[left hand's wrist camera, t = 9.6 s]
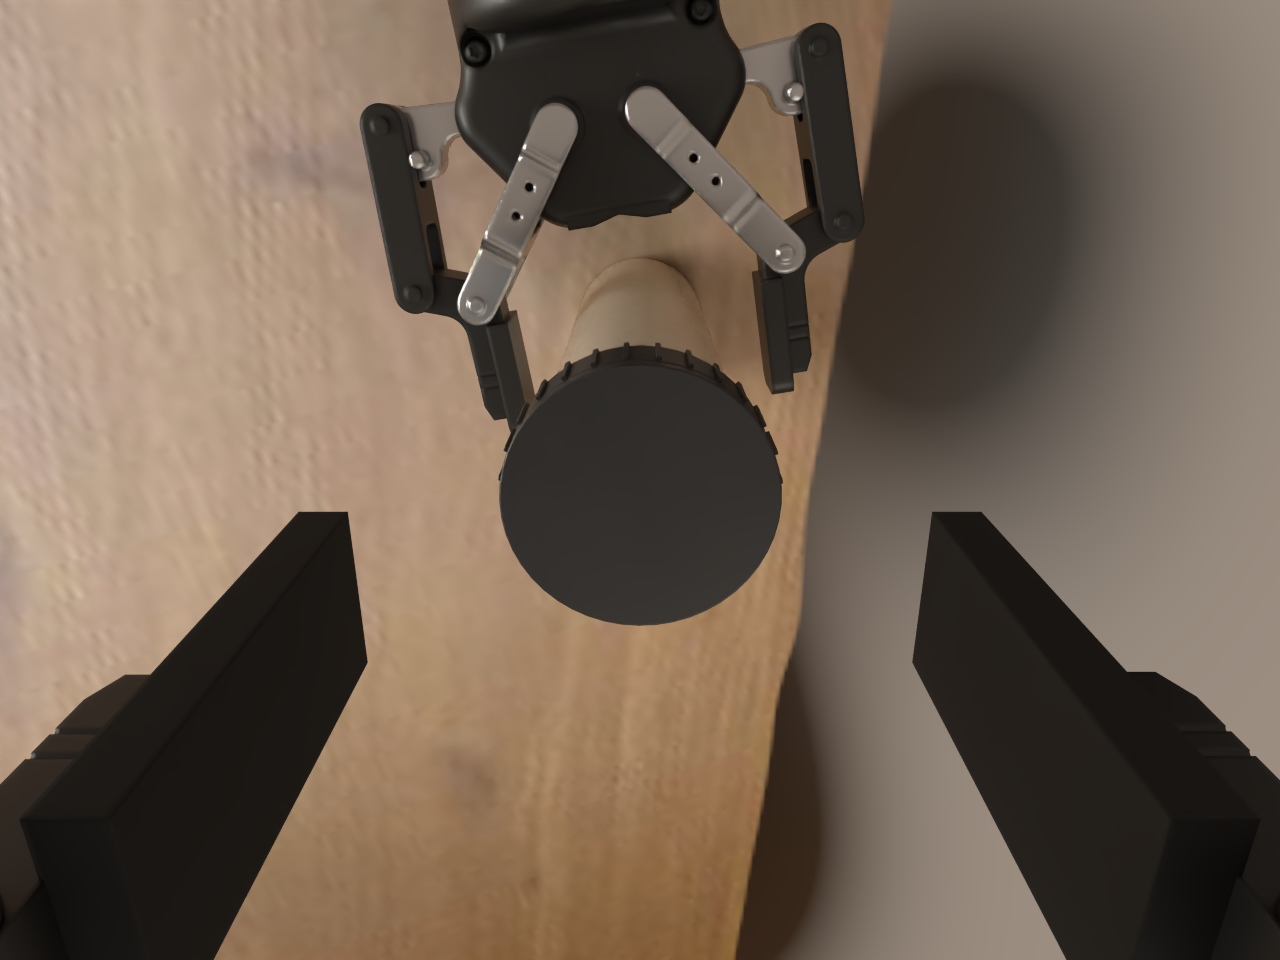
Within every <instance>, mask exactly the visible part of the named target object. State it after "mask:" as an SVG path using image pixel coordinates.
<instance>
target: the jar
mask: <svg viewBox="0 0 1280 960" xmlns="http://www.w3.org/2000/svg"><path fill="white" fill-rule="evenodd" d="M624 342H629V346H637V345H646V346H655V343H656V342H657V343H661V347H664V348H669V349H674V350H678V351H681V352H684V353H685V351H686V349H687V350H690V351H691V353H692V355H693V356H695V357H697V358H699V359H701V360H703V361H705V362H707V363H709V364H711V365H713V364H714V363H716V364H718V365H719V368H720V371H721V372H722V373H724V372H723V369H722V367H721V364H720V361H719V358H718V355H717V353H716V350H715V347H714V344H713V341H712V338H711V336H710V333H709V330H708V327H707V324H706V322H705V319H704V316H703V313H702V310H701V307H700V305H699V302H698V299H697V296H696V294H695V292H694V290H693V288H692V287H691V285H690V283H689V282H688V281H687V280H686V279H685V277H684V276H683V275H681V274H680V273H679V272H678V271H677V270H675V269H674V268H673V267H671V266H669V265H667V264H665V263H663V262H660V261H657V260H653V259H646V258H634V259H628V260H624V261H621V262H618V263H616V264H613V265H611V266H610V267H608V268H607V269H605V270H604V271H602V272H601V273H600V274H599V275H598V276H597V277H596V278H595V279H594V280H593V282H592V283H591V284H590V286H589V287H588V289H587V291H586V293H585V295H584V298H583V301H582V303H581V306H580V309H579V312H578V315H577V318H576V321H575V323H574V326H573V329H572V332H571V335H570V338H569V340H568V343H567V346H566V349H565V352H564V355H563V357H562V360H561V363H560V366H559V369H558V372H560V371H561V370H563V369H564V366H565V363H566V362H568V361H570V362H571V364H572V363H574V362H576V361H578V360H580V359H582V358H584V357H586V356H588V355H591V354H592V353H593V350H594V349H597V348H598V349H599V352H600V351H603V350H606V349H612V348H617V347H622V346H624ZM558 372H557V373H558Z"/></svg>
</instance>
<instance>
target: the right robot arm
mask: <svg viewBox="0 0 1280 960" xmlns="http://www.w3.org/2000/svg"><path fill="white" fill-rule="evenodd" d="M448 4H449V9H450V13H451V18H452V23H453V27H454V32H455V36H456V41H457V46H458V50H459V55H460V62H461V79H460V86H459V91H458V94H457V98H456V102H448V103H440V104H431V105H422V106H414V107H404V106H398V105H390V104H383V103H375V104H372V105H370V106H368V107H367V108H366V109H365V110H364V111H363V113H362V115H361V118H360V130H361V134H362V139H363V144H364V149H365V154H366V159H367V164H368V169H369V173H370V178H371V183H372V188H373V193H374V198H375V203H376V208H377V212H378V217H379V222H380V227H381V232H382V237H383V242H384V247H385V251H386V256H387V261H388V266H389V271H390V276H391V281H392V286H393V290H394V295H395V299H396V301H397V303H398V305H399V306H400V307H401V308H402V309H403V310H405V311H407V312H409V313H412V314H419V313H423V312H427V313H432V314H438V315H443V316H448V317H451V318H453V319H455V320H457V321H458V322H459V323H460V324H461V325H462V326H463V327H464V329H465V330H466V332H467V335H468V339H469V343H470V347H471V351H472V355H473V360H474V364H475V368H476V372H477V376H478V380H479V384H480V388H481V393H482V397H483V401H484V405H485V408H486V409H487V411H488V412H489V413H490V415H491V416H492V418H493V419H494V420H499V419H505V418H507V421H508V425H509V429H510V432H512V429H513V428H514V429H517V427H518V425H519V424H517V423H516V422H517V420H518V417H519V415H520V413H521V410H522V408H523V406H524V404H525V402H527V403H528V404H530V402H531V401H532V399H533V398H534V396H535V393H534V388H533V384H532V379H531V375H530V370H529V366H528V361H527V356H526V352H525V347H524V343H523V338H522V333H521V329H520V324H519V320H518V315H517V310H515V311H509V309H508V304H507V297H508V295H509V293H510V291H511V289H512V287H513V285H514V282H515V280H516V278H517V276H518V274H519V272H520V270H521V267H522V265H523V263H524V261H525V259H526V257H527V255H528V253H529V251H530V249H531V248H532V246H533V244H534V242H535V240H536V237H537V235H538V233H539V231H540V229H541V227H542V225H543V222H544V220H546V221H548V222H550V223H552V224H555V225H557V226H561V227H567V228H568V229H569V230H575V229H581V228H586V227H592V226H595V225H597V224H600V223H602V222H604V221H606V220H608V219H610V218H612V217H614V216H616V215H630V216H640V217H650V216H655V215H661V214H667V213H672V212H671V210H672V209H674V208H676V207H678V206H679V205H681V204H682V203H684V202H685V201H686V200H687V199H688V198H689V197H690V196H691V194H692V193H693V192H694V191H695V192H696V193H697V194H698V195H699V196H700V197H701V198H702V199H703V200H704V201H705V202H706V203H707V204H708V205H709V206H710V207H711V208H712V209H713V210H714V211H715V212H716V213H717V214H718V215H719V216H720V217H721V218H722V219H723V220H724V221H725V222H726V223H727V224H728V225H729V226H730V227H731V228H732V229H733V230H734V231H735V232H736V233H737V234H738V235H739V236H740V237H741V238H742V239H743V240H744V241H745V242H746V243H747V244H748V246H749V247H750V248H751V249H752V250H753V251H754V252H755V253H756V254H757V261H758V271H753V272H752V278H753V286H754V295H755V303H756V311H757V320H758V328H759V337H760V345H761V354H762V362H763V370H764V376H765V381H766V384H767V386H768V388H769V390H770V392H771V394H778V393H785V392H791V391H794V379H793V373H797V372H803V371H807V369H808V365H809V362H810V358H811V355H812V354H811V344H810V333H809V325H808V313H807V302H806V292H805V282H804V277H805V272H806V269H807V266H808V265H809V263H810V262H811V260H812V259H813V258H814V257H816V256H817V255H819V254H820V253H822V252H824V251H826V250H827V249H829V248H831V247H833V246H835V245H836V244H838V243H845V242H849V241H851V240H853V239H855V238H856V237H857V236H858V235H859V234H860V232H861V231H862V229H863V226H864V211H863V203H862V196H861V188H860V181H859V173H858V165H857V158H856V150H855V143H854V135H853V128H852V120H851V112H850V105H849V97H848V90H847V82H846V74H845V67H844V59H843V52H842V44H841V38H840V36H839V33H838V32H837V30H836V29H835V28H834V27H832V26H831V25H829V24H826V23H816V24H813V25H811V26H808V27H806V28H804V29H803V30H801V31H800V32H798V33H797V34H796V35H795V36H791V37H787V38H783V39H779V40H775V41H771V42H767V43H763V44H759V45H755V46H751V47H747V48H743V49H738V47H737V46H736V44H735V43H734V41H733V40H732V39H731V37H730V35H729V33H728V31H727V29H726V27H725V25H724V22H723V19H722V15H721V11H720V5H719V0H448ZM745 84H751V85H755V86H757V87H759V88H760V89H761V90H762V91H763V92H764V93H765V95H766V97H767V100H768V103H769V106H770V107H771V109H772V110H773V111H774V112H775V113H777V114H779V115H781V116H792V115H793V118H794V124H795V131H796V137H797V144H798V150H799V157H800V163H801V170H802V176H803V183H804V189H805V196H806V202H807V208H805V209H803V210H801V211H800V212H798V213H796V214H794V215H793V216H791V217H789V218H787V219H786V220H784V221H783V220H782V218H781V217H780V216H779V215H778V214H777V213H776V212H775V211H774V210H773V209H772V208H771V207H770V206H769V205H768V204H767V203H766V202H765V201H764V200H763V199H762V198H761V196H760V195H759V194H758V193H757V192H756V190H755V189H754V188H753V187H752V186H751V185H750V184H749V183H748V182H747V181H746V180H745V179H744V178H743V177H742V176H741V175H740V174H739V173H738V172H737V171H736V170H735V169H734V167H733V166H732V165H731V164H730V163H729V162H728V161H727V160H726V159H725V158H724V157H723V156H722V155H721V154H720V153H719V152H718V151H717V150H716V147H717V145H718V142H719V140H720V138H721V136H722V134H723V132H724V130H725V128H726V126H727V124H728V122H729V120H730V118H731V116H732V114H733V112H734V110H735V108H736V106H737V104H738V102H739V100H740V98H741V96H742V94H743V91H744V88H745ZM460 136H461V137H462V138H463V140H464V141H465V142H466V144H467V145H468V146H469V147H470V148H471V149H472V150H473V151H474V152H475V153H476V154H477V155H478V156H479V157H480V158H481V159H482V160H483V161H485V162H486V163H487V164H488V165H489V166H490V167H491V168H492V169H493V170H494V171H495V172H496V173H497V174H498V175H499V176H500V177H501V178H502V179H503V180H504V181H505V182H506V183H507V185H506V187H505V189H504V191H503V194H502V196H501V198H500V200H499V203H498V205H497V207H496V209H495V212H494V214H493V216H492V218H491V221H490V223H489V225H488V227H487V230H486V232H485V234H484V237H483V239H482V243H481V247H480V250H479V252H478V254H477V256H476V259H475V261H474V263H473V265H472V267H471V270H470V272H469V273H466V272H461V271H456V270H450V269H447V263H446V258H445V252H444V246H443V241H442V235H441V230H440V224H439V219H438V213H437V208H436V202H435V197H434V191H433V186H432V180H433V179H437V178H439V177H441V176H442V175H443V174H444V173H445V171H446V169H447V166H448V151H449V148H450V146H451V144H452V143H453V141H454V140H455V139H457V138H458V137H460Z"/></svg>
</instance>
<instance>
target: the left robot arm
mask: <svg viewBox="0 0 1280 960" xmlns="http://www.w3.org/2000/svg"><path fill="white" fill-rule="evenodd" d="M367 663H368V662H367V654H366V647H365V639H364V631H363V624H362V616H361V609H360V601H359V594H358V586H357V579H356V571H355V563H354V556H353V548H352V541H351V533H350V526H349V518H348V512H298V513H297V514H296V515H295V517H294V518H293V519H292V520H291V521H290V522H289V523H288V524H287V525H286V526H285V528H284V529H283V530H282V531H281V532H280V533H279V534H278V535H277V536H276V537H275V539H274V540H273V541H272V542H271V543H270V544H269V545H268V546H267V547H266V548H265V549H264V551H263V552H262V553H261V554H260V555H259V556H258V557H257V558H256V559H255V560H254V562H253V563H252V564H251V565H250V566H249V567H248V568H247V569H246V570H245V571H244V573H243V574H242V575H241V576H240V577H239V578H238V579H237V580H236V581H235V582H234V584H233V585H232V586H231V587H230V588H229V589H228V590H227V591H226V592H225V593H224V595H223V596H222V597H221V598H220V599H219V600H218V601H217V602H216V603H215V604H214V605H213V607H212V608H211V609H210V610H209V611H208V612H207V613H206V614H205V615H204V616H203V618H202V619H201V620H200V621H199V622H198V623H197V624H196V625H195V626H194V627H193V629H192V630H191V631H190V632H189V633H188V634H187V635H186V636H185V637H184V638H183V640H182V641H181V642H180V643H179V644H178V645H177V646H176V647H175V648H174V649H173V651H172V652H171V653H170V654H169V655H168V656H167V657H166V658H165V659H164V660H163V661H162V663H161V664H160V665H159V666H158V667H157V668H156V669H155V670H154V671H153V672H152V674H151V675H124V676H122V677H121V678H119V679H117V680H116V681H114V682H112V683H111V684H109V685H108V686H106V687H104V688H103V689H101V690H99V691H98V692H96V693H94V694H93V695H91V696H89V697H88V698H86V699H84V700H83V701H82V702H81V703H80V704H79V705H78V706H77V707H76V708H75V709H74V710H73V711H72V712H71V713H70V714H69V715H68V716H67V717H66V718H65V719H64V720H63V721H62V723H61V724H60V725H59V726H58V727H57V728H56V729H55V730H56V731H55V734H50V735H49V736H48V737H47V738H46V739H45V740H44V741H43V742H42V743H41V744H40V745H39V746H38V747H37V748H36V749H35V750H34V751H33V752H32V753H31V755H32V756H31V758H30V759H25V760H24V761H23V762H22V763H21V764H20V765H19V766H18V767H17V768H16V769H15V770H14V771H13V772H12V773H11V774H10V775H9V776H8V777H7V778H6V779H5V780H4V781H3V782H2V783H1V784H0V960H214V958H215V956H216V954H217V952H218V950H219V948H220V946H221V944H222V942H223V940H224V939H225V937H226V935H227V933H228V931H229V929H230V927H231V925H232V923H233V921H234V919H235V917H236V915H237V913H238V912H239V910H240V908H241V906H242V904H243V902H244V900H245V898H246V896H247V894H248V892H249V890H250V888H251V886H252V885H253V883H254V881H255V879H256V877H257V875H258V873H259V871H260V869H261V867H262V865H263V863H264V861H265V859H266V858H267V856H268V854H269V852H270V850H271V848H272V846H273V844H274V842H275V840H276V838H277V836H278V834H279V832H280V831H281V829H282V827H283V825H284V823H285V821H286V819H287V817H288V815H289V813H290V811H291V809H292V807H293V805H294V804H295V802H296V800H297V798H298V796H299V794H300V792H301V790H302V788H303V786H304V784H305V782H306V780H307V778H308V777H309V775H310V773H311V771H312V769H313V767H314V765H315V763H316V761H317V759H318V757H319V755H320V753H321V751H322V750H323V748H324V746H325V744H326V742H327V740H328V738H329V736H330V734H331V732H332V730H333V728H334V726H335V724H336V723H337V721H338V719H339V717H340V715H341V713H342V711H343V709H344V707H345V705H346V703H347V701H348V699H349V697H350V696H351V694H352V692H353V690H354V688H355V686H356V684H357V682H358V680H359V678H360V676H361V674H362V672H363V670H364V669H365V667H366V665H367ZM912 663H913V665H914V667H915V669H916V670H917V672H918V674H919V676H920V678H921V680H922V682H923V684H924V686H925V688H926V690H927V692H928V694H929V696H930V697H931V699H932V701H933V703H934V705H935V707H936V709H937V711H938V713H939V715H940V717H941V719H942V721H943V723H944V724H945V726H946V728H947V730H948V732H949V734H950V736H951V738H952V740H953V742H954V744H955V746H956V748H957V749H958V751H959V753H960V755H961V757H962V759H963V761H964V763H965V765H966V767H967V769H968V771H969V773H970V775H971V776H972V778H973V780H974V782H975V784H976V786H977V788H978V790H979V792H980V794H981V796H982V798H983V800H984V802H985V804H986V805H987V807H988V809H989V811H990V813H991V815H992V817H993V819H994V821H995V823H996V825H997V827H998V829H999V831H1000V832H1001V834H1002V836H1003V838H1004V840H1005V842H1006V844H1007V846H1008V848H1009V850H1010V852H1011V854H1012V856H1013V858H1014V859H1015V861H1016V863H1017V865H1018V867H1019V869H1020V871H1021V873H1022V875H1023V877H1024V879H1025V881H1026V883H1027V885H1028V886H1029V888H1030V890H1031V892H1032V894H1033V896H1034V898H1035V900H1036V902H1037V904H1038V906H1039V908H1040V910H1041V912H1042V913H1043V915H1044V917H1045V919H1046V921H1047V923H1048V925H1049V927H1050V929H1051V931H1052V933H1053V935H1054V937H1055V938H1056V940H1057V942H1058V944H1059V946H1060V948H1061V950H1062V952H1063V954H1064V956H1065V958H1066V960H1280V780H1279V779H1278V778H1277V777H1276V776H1275V775H1274V774H1273V773H1272V772H1271V771H1270V770H1269V769H1268V768H1267V767H1266V766H1265V765H1264V764H1263V763H1262V762H1261V761H1260V760H1259V759H1258V758H1257V757H1256V756H1251V755H1250V753H1249V751H1250V750H1249V749H1248V748H1247V747H1246V746H1245V745H1244V744H1243V743H1242V742H1241V741H1240V740H1239V739H1238V738H1237V737H1236V736H1235V735H1234V734H1233V733H1232V732H1231V731H1226V729H1225V725H1224V724H1223V723H1222V722H1221V721H1220V720H1219V719H1218V718H1217V717H1216V716H1215V715H1214V714H1213V713H1212V712H1211V711H1210V710H1209V709H1208V708H1207V707H1206V706H1205V705H1204V704H1203V703H1202V702H1201V701H1200V700H1199V699H1198V698H1197V697H1196V696H1195V695H1193V694H1191V693H1190V692H1188V691H1186V690H1185V689H1183V688H1181V687H1180V686H1178V685H1176V684H1175V683H1173V682H1171V681H1170V680H1168V679H1166V678H1165V677H1163V676H1161V675H1160V674H1158V673H1156V672H1127V671H1126V670H1125V669H1124V668H1123V667H1122V666H1121V665H1120V664H1119V663H1118V661H1117V660H1116V659H1115V658H1114V657H1113V656H1112V655H1111V654H1110V653H1109V652H1108V651H1107V649H1106V648H1105V647H1104V646H1103V645H1102V644H1101V643H1100V642H1099V641H1098V640H1097V638H1096V637H1095V636H1094V635H1093V634H1092V633H1091V632H1090V631H1089V630H1088V629H1087V628H1086V626H1085V625H1084V624H1083V623H1082V622H1081V621H1080V620H1079V619H1078V618H1077V617H1076V615H1075V614H1074V613H1073V612H1072V611H1071V610H1070V609H1069V608H1068V607H1067V605H1066V604H1065V603H1064V602H1063V601H1062V600H1061V599H1060V598H1059V597H1058V596H1057V595H1056V593H1055V592H1054V591H1053V590H1052V589H1051V588H1050V587H1049V586H1048V585H1047V584H1046V582H1045V581H1044V580H1043V579H1042V578H1041V577H1040V576H1039V575H1038V574H1037V573H1036V571H1035V570H1034V569H1033V568H1032V567H1031V566H1030V565H1029V564H1028V563H1027V562H1026V561H1025V559H1024V558H1023V557H1022V556H1021V555H1020V554H1019V553H1018V552H1017V551H1016V550H1015V548H1014V547H1013V546H1012V545H1011V544H1010V543H1009V542H1008V541H1007V540H1006V539H1005V537H1004V536H1003V535H1002V534H1001V533H1000V532H999V531H998V530H997V529H996V528H995V526H994V525H993V524H992V523H991V522H990V521H989V520H988V519H987V518H986V517H985V515H984V514H983V513H982V512H932V518H931V526H930V533H929V541H928V548H927V556H926V563H925V571H924V579H923V586H922V594H921V601H920V609H919V616H918V624H917V631H916V639H915V647H914V654H913V662H912Z"/></svg>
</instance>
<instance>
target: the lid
mask: <svg viewBox="0 0 1280 960" xmlns="http://www.w3.org/2000/svg"><path fill="white" fill-rule="evenodd" d="M516 423H517V424H519V425H518V427H517V429H514V428H513V429H512V432H511V434H510V436H509V438H508V441H507V443H506V445H505V448H504V451H505V452H507V454H506V457H505V460H504V463H503V467H502V469H501V472H500V474H499V479H498V480H499V481H500V490H499V503H500V511H501V518H502V522H503V526H504V530H505V533H506V536H507V538H508V541H509V543H510V546H511V548H512V550H513V552H514V554H515V555H516V557H517V559H518V560H519V562H520V564H521V565H522V566H523V568H524V569H525V570H526V572H527V573H528V574H529V575H530V577H531V578H532V579H533V580H534V581H535V582H536V583H537V584H538V585H539V586H540V587H541V588H542V589H543V590H544V591H546V592H547V593H548V594H549V595H551V596H552V597H553V598H555V599H556V600H557V601H559V602H561V603H562V604H564V605H566V606H567V607H569V608H571V609H573V610H575V611H577V612H579V613H582V614H584V615H586V616H589V617H592V618H595V619H599V620H602V621H606V622H611V623H616V624H623V625H637V626H641V625H658V624H664V623H670V622H675V621H679V620H682V619H686V618H689V617H692V616H694V615H697V614H699V613H702V612H704V611H706V610H708V609H710V608H712V607H713V606H715V605H717V604H719V603H721V602H722V601H723V600H725V599H726V598H728V597H729V596H730V595H732V594H733V593H734V592H736V591H737V590H738V589H739V588H740V587H741V586H742V585H743V584H744V583H745V582H746V581H747V580H748V579H749V578H750V577H751V575H752V574H753V573H754V572H755V570H756V569H757V568H758V567H759V565H760V563H761V562H762V560H763V559H764V557H765V555H766V554H767V552H768V550H769V548H770V545H771V543H772V541H773V539H774V536H775V533H776V530H777V526H778V523H779V518H780V511H781V504H782V486H781V484H783V479H782V477H781V474H780V471H779V467H778V464H777V460H776V457H775V455H777V454H778V451H777V448H776V446H775V444H774V442H773V439H772V437H771V435H770V432H769V431H768V432H765V430H764V427H766V426H767V425H766V423H765V421H764V419H763V416H762V414H761V412H760V409H759V407H758V406H757V405H755V406H754V407H753V405H752V404H751V402H750V401H749V399H748V398H747V397H746V394H745V392H744V389H743V387H742V384H741V383H740V382H737V383H736V384H735V383H734V382H733V381H732V380H731V379H730V378H728V377H727V376H726V375H725V374H724V373H722V372H721V371H720V368H719V365H718V364H716V363H714V364H713V365H711V364H709V363H707V362H705V361H703V360H701V359H699V358H697V357H695V356H693V355H692V353H691V351H690V350H687V349H686V351H685V353H684V352H681V351H678V350H674V349H669V348H664V347H661V343H657V342H656V343H655V346H646V345H637V346H629V342H624V346H622V347H617V348H612V349H606V350H603V351H600V352H599V349H598V348H597V349H594V350H593V353H592V354H591V355H588V356H586V357H584V358H582V359H580V360H578V361H576V362H574V363H572V364H571V362H570V361H568V362H566V363H565V366H564V369H563V370H561V371H560V372H558V373H557V374H556V375H555V376H554V377H553V378H551V379H550V380H549V381H547V380H546V379H544V380H543V381H542V383H541V385H540V388H539V390H538V393H537V394H536V395H535V396H534V398H533V399H532V401H531V402H530V404H528V403H527V402H525V404H524V406H523V408H522V410H521V413H520V415H519V417H518V420H517V422H516Z"/></svg>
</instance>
